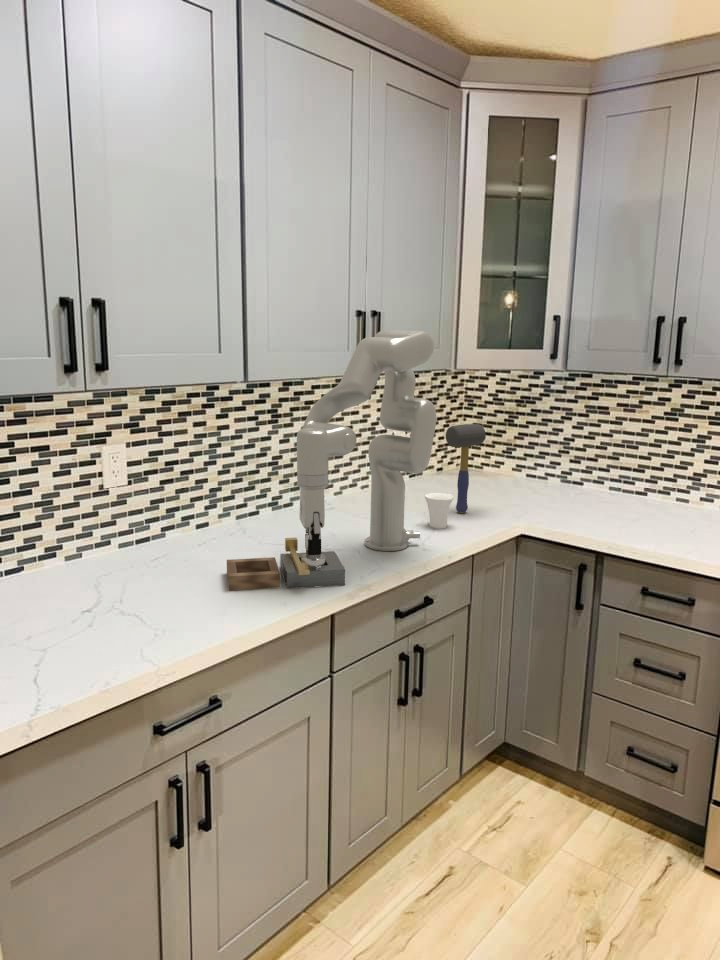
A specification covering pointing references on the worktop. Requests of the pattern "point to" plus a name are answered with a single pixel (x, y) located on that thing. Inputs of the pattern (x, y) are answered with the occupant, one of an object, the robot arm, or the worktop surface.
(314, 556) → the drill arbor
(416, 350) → the robot arm
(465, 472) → the rubber mallet
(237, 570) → the frame
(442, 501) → the cup
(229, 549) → the worktop surface
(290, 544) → the brass key
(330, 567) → the spindle block
